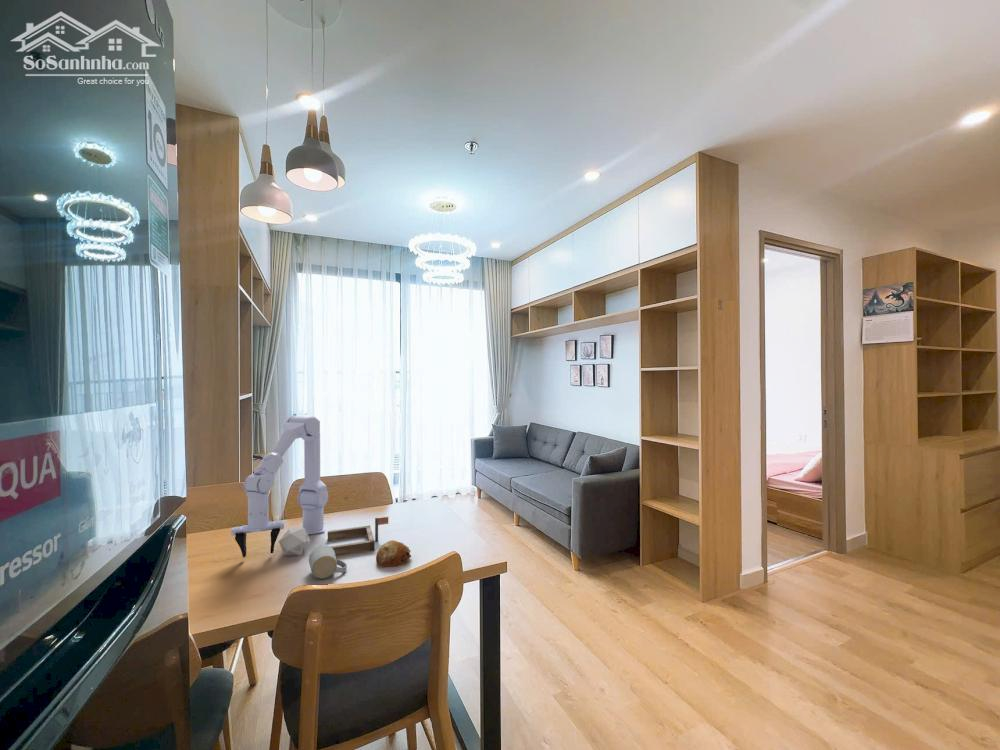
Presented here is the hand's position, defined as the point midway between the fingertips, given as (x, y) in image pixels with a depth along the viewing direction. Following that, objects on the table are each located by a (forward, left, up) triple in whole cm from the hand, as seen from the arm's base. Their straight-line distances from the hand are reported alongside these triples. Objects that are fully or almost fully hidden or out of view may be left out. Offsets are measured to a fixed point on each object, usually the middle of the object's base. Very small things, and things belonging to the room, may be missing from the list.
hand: (258, 554), depth 133 cm
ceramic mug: (+19, +20, -2) cm, 28 cm away
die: (0, +10, -2) cm, 11 cm away
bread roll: (+18, +40, -2) cm, 44 cm away
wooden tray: (0, +31, -1) cm, 31 cm away
